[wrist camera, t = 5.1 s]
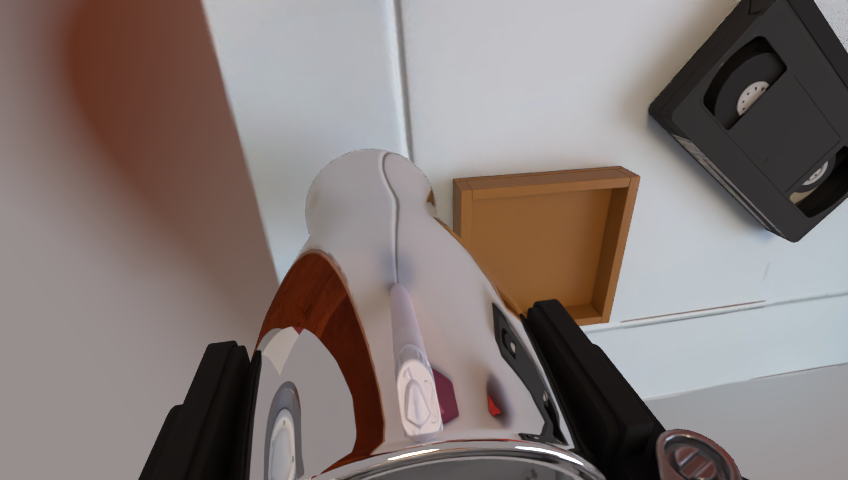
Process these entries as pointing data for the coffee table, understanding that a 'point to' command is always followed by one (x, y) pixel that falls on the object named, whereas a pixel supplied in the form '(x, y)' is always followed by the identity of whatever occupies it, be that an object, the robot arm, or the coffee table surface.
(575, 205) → the amber tray
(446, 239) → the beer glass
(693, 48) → the coffee table surface
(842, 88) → the vhs tape
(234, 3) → the coffee table surface
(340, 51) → the coffee table surface
